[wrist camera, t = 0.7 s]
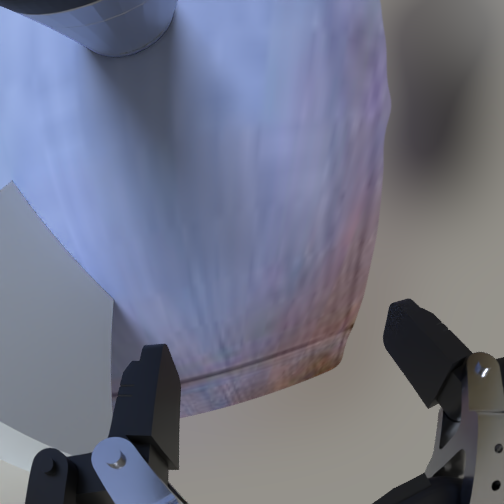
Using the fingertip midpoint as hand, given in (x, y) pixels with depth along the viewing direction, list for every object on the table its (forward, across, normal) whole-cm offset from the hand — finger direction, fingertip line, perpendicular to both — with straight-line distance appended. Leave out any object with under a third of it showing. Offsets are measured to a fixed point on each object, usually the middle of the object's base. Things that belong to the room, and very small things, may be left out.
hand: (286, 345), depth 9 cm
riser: (+20, +33, +6) cm, 39 cm away
